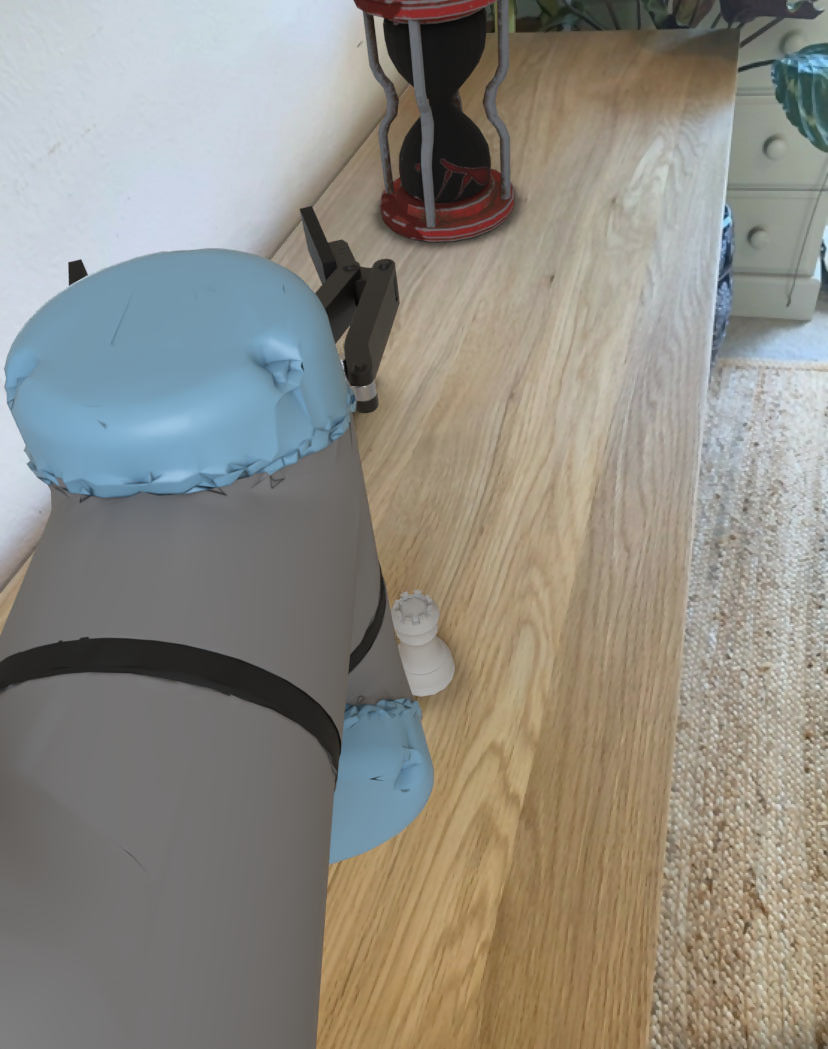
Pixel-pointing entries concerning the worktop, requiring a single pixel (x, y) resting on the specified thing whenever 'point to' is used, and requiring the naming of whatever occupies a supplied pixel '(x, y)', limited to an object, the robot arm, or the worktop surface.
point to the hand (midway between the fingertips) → (198, 253)
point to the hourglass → (441, 118)
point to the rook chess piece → (422, 644)
